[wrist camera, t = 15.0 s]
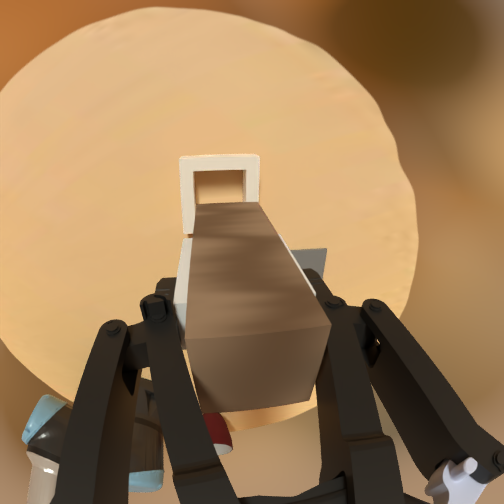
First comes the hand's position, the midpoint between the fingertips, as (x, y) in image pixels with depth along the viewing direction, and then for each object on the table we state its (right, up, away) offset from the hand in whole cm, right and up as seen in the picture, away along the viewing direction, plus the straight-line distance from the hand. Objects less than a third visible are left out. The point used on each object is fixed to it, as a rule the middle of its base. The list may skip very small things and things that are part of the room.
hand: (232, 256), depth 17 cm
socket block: (-3, +8, +16) cm, 18 cm away
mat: (+9, -3, +23) cm, 25 cm away
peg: (-1, +2, +4) cm, 4 cm away
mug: (-8, -39, +39) cm, 56 cm away
